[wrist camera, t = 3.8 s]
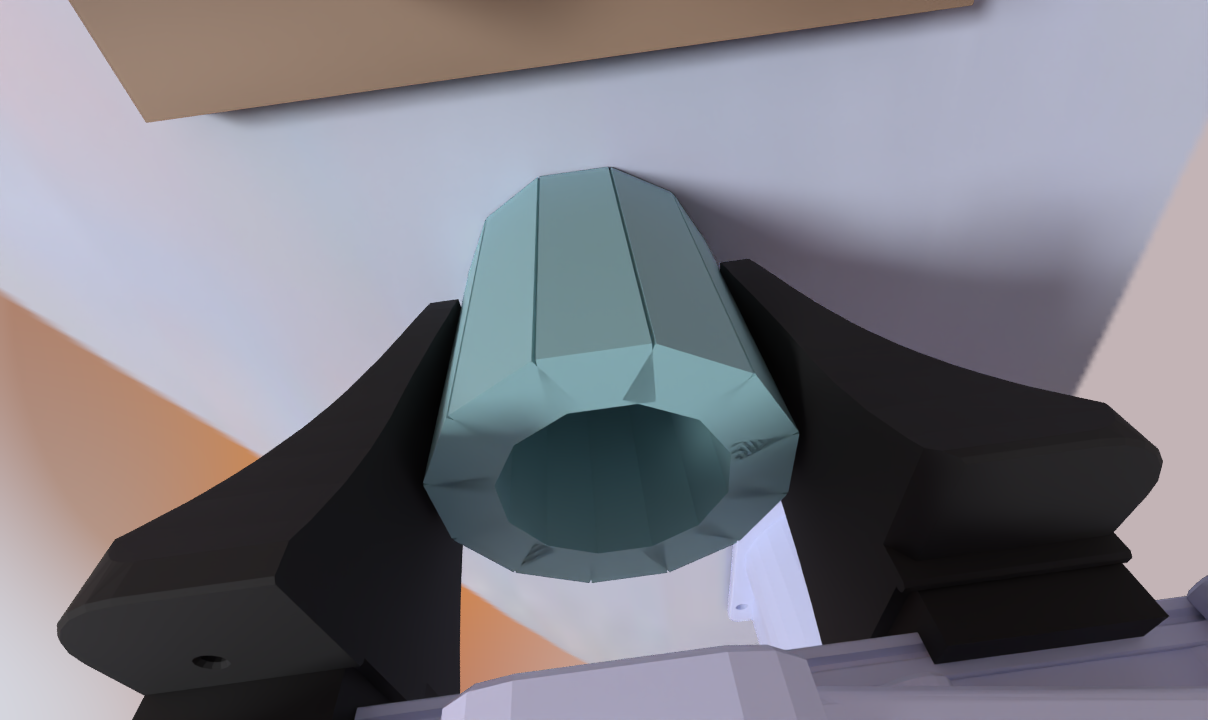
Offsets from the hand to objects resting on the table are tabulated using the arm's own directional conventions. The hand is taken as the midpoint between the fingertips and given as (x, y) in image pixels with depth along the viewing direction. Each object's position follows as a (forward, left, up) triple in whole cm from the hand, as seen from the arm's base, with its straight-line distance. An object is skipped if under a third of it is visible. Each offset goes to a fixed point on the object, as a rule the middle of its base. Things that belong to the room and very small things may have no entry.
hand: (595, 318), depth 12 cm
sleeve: (0, 0, -1) cm, 1 cm away
